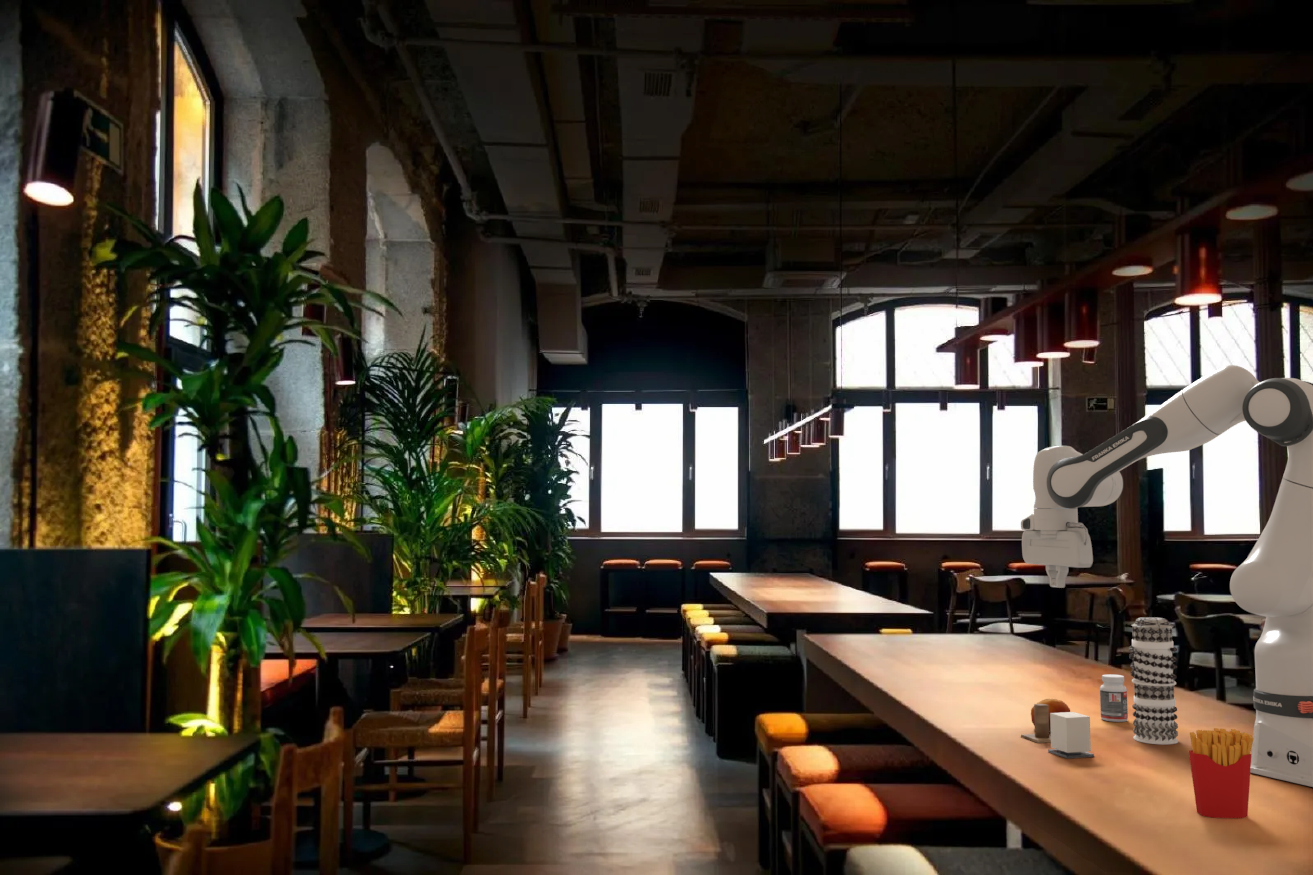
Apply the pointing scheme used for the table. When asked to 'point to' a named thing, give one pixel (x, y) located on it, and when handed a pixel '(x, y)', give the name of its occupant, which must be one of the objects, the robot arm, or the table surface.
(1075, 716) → the white rectangular block
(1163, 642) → the black white cylinder
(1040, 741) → the knob on square plate
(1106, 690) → the pill bottle
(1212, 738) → the french fries
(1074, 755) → the grey square post stand
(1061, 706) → the fruit
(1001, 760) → the table surface
